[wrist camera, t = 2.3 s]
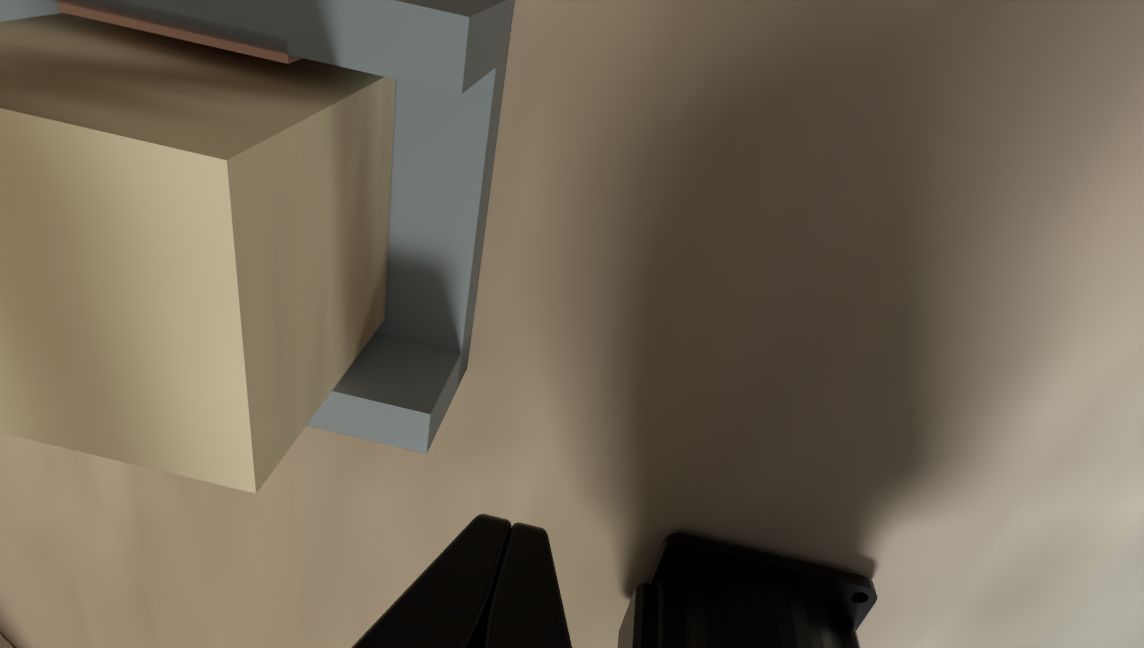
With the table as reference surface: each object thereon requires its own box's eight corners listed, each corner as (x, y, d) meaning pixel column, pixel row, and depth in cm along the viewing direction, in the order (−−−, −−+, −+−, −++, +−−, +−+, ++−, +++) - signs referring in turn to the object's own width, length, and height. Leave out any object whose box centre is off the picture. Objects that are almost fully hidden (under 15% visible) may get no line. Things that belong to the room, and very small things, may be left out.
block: (396, 71, 14) (227, 160, 8) (384, 319, 17) (255, 493, 12) (110, 5, 14) (-230, 55, 9) (152, 264, 17) (-77, 414, 12)
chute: (514, -4, 14) (469, 17, 11) (466, 368, 18) (426, 454, 15) (-429, -217, 14) (-731, -254, 11) (-228, 205, 19) (-399, 258, 16)
